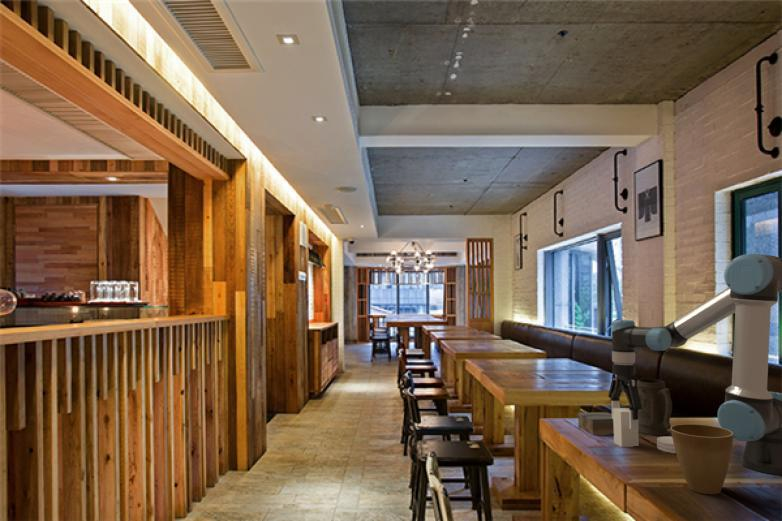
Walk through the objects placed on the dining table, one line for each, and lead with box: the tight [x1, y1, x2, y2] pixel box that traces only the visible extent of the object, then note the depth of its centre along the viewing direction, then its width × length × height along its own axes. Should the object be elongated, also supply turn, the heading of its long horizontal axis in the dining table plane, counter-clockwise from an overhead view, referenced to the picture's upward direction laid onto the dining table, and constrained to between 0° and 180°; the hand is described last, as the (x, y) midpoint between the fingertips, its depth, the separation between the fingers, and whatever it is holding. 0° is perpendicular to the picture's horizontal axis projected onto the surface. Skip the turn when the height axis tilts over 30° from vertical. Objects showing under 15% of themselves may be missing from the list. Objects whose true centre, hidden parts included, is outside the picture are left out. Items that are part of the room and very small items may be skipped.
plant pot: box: [669, 423, 734, 495], centre depth 146 cm, size 15×15×16 cm
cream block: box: [613, 407, 640, 448], centre depth 190 cm, size 6×6×12 cm
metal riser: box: [577, 411, 614, 436], centre depth 208 cm, size 12×12×6 cm
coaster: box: [656, 435, 676, 454], centre depth 183 cm, size 10×10×4 cm
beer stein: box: [636, 378, 673, 436], centre depth 205 cm, size 15×11×20 cm
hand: (624, 423), depth 190 cm, fingers open, 13 cm apart
